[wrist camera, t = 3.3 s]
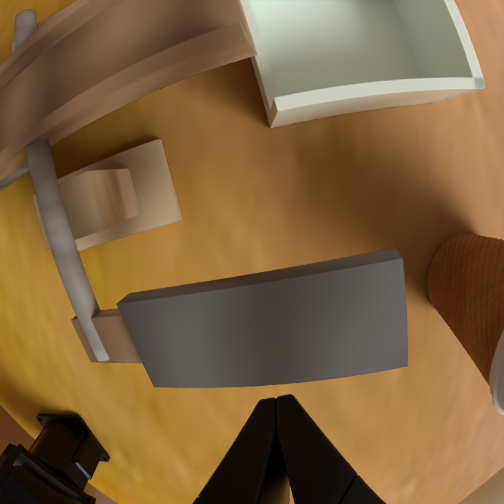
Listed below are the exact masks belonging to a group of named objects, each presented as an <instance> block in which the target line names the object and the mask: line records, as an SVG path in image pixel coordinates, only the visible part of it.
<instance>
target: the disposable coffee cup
mask: <svg viewBox="0 0 504 504" xmlns="http://www.w3.org/2000/svg"><path fill="white" fill-rule="evenodd" d="M426 289H427V294H428V297H429V300H430V302H431V304H432V305H433V306H434V308H435V309H436V310H437V311H438V313H439V314H440V315H441V317H442V318H443V319H444V321H445V322H446V323H447V325H448V326H449V327H450V329H451V330H452V332H453V333H454V334H455V336H456V337H457V339H458V340H459V341H460V343H461V344H462V346H463V347H464V348H465V350H466V351H467V353H468V354H469V356H470V357H471V359H472V360H473V361H474V363H475V364H476V366H477V367H478V369H479V370H480V372H481V374H482V376H483V377H484V378H485V380H486V381H487V383H488V384H489V386H490V392H491V395H492V400H493V404H494V406H495V408H496V410H497V412H498V413H500V414H501V415H503V416H504V241H503V239H497V238H492V237H486V236H480V235H474V234H470V233H462V234H458V235H455V236H453V237H451V238H450V239H448V240H447V241H446V242H445V243H444V244H443V245H442V246H441V247H440V248H439V249H438V251H437V252H436V254H435V255H434V257H433V259H432V261H431V263H430V266H429V269H428V274H427V281H426Z"/></svg>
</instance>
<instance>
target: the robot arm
mask: <svg viewBox="0 0 504 504" xmlns="http://www.w3.org/2000/svg"><path fill="white" fill-rule="evenodd" d="M36 418H37V420H38V421H39V423H40V424H41V426H42V427H43V430H42V431H41V432H40V434H39V435H38V437H37V438H36V440H35V441H34V443H33V445H32V446H31V448H30V449H29V451H27V450H26V449H25V448H24V446H22V445H21V444H20V443H19V445H18V446H15V445H12V444H10V443H9V445H8V446H7V448H6V449H5V450H4V452H3V453H2V455H1V456H0V504H95V501H96V498H94V497H93V496H89V495H88V494H86V493H85V492H83V491H84V489H85V486H86V484H87V482H88V480H89V479H91V478H92V476H93V474H94V472H95V470H96V467H97V465H98V463H99V461H104V462H108V461H109V460H110V456H109V455H108V454H107V452H106V451H105V450H104V449H103V447H102V446H101V445H100V443H99V442H98V441H97V439H96V438H95V436H94V435H93V434H92V432H91V431H90V429H89V428H88V426H87V425H86V424H85V422H84V421H83V419H82V418H81V417H80V416H78V415H53V414H38V415H37V416H36ZM13 464H14V465H15V467H14V466H13ZM290 487H291V491H292V495H293V499H294V503H295V504H386V503H385V502H384V501H383V500H382V499H381V498H380V497H379V496H378V495H377V494H376V493H375V492H374V491H373V490H372V489H371V488H370V487H369V486H368V485H367V484H366V483H365V481H364V480H363V479H362V478H361V477H360V476H359V475H357V473H356V471H355V470H354V469H353V468H352V467H351V465H350V464H349V463H348V462H347V461H346V460H345V458H344V457H343V456H342V455H341V454H340V452H339V451H338V450H337V449H336V448H335V446H334V445H333V444H332V443H331V442H330V440H329V439H328V438H327V437H326V436H325V434H324V433H323V432H322V431H321V429H320V428H319V427H318V426H317V424H316V423H315V422H314V421H313V420H312V418H311V417H310V416H309V415H308V413H307V412H306V411H305V410H304V408H303V407H302V406H301V404H300V403H299V402H298V401H297V399H296V398H295V397H294V396H293V395H292V394H288V395H283V396H279V397H277V399H276V398H267V399H262V400H260V401H259V402H258V403H257V405H256V407H255V408H254V410H253V412H252V413H251V415H250V417H249V418H248V420H247V422H246V423H245V425H244V427H243V428H242V430H241V431H240V433H239V435H238V436H237V438H236V439H235V441H234V443H233V444H232V446H231V447H230V449H229V450H228V452H227V454H226V455H225V457H224V458H223V460H222V461H221V463H220V464H219V466H218V467H217V469H216V470H215V472H214V473H213V475H212V476H211V478H210V479H209V481H208V482H207V484H206V485H205V487H204V488H203V489H202V491H201V492H200V494H199V497H200V498H199V497H197V498H196V499H195V501H194V502H193V504H289V498H290Z"/></svg>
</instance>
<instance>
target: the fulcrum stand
mask: <svg viewBox="0 0 504 504" xmlns="http://www.w3.org/2000/svg"><path fill="white" fill-rule="evenodd" d="M62 10H63V9H62ZM62 10H60V11H59V12H61V11H62ZM59 12H57V13H55V14H53V15H52V16H50V17H48V18H47V19H45V20H44V21H42V22H41V23H39V24H37V25H36V29H37V30H38V29H39V28H41V27H42V26H43V25H44V24H45V23H47V22H48V21H49V20H50V19H52V18H53V17H54V16H55V15H57V14H58V13H59ZM14 51H15V40H14V41H13V42H12V53H13V52H14ZM57 180H58V184H59V188H60V192H61V196H62V199H63V203H64V207H65V210H66V214H67V217H68V221H69V224H70V227H71V231H72V234H73V237H74V240H75V243H76V246H77V249H78V251H81V250H84V249H87V248H90V247H94V246H97V245H100V244H103V243H106V242H110V241H113V240H116V239H119V238H123V237H126V236H129V235H133V234H136V233H140V232H143V231H146V230H150V229H153V228H157V227H160V226H164V225H167V224H171V223H174V222H178V221H181V220H182V219H183V217H182V214H181V210H180V207H179V203H178V200H177V196H176V192H175V189H174V185H173V182H172V178H171V174H170V170H169V167H168V163H167V159H166V155H165V151H164V148H163V144H162V140H159V139H157V140H154V141H151V142H148V143H145V144H142V145H140V146H137V147H134V148H131V149H129V150H126V151H123V152H121V153H118V154H116V155H113V156H111V157H108V158H105V159H103V160H101V161H98V162H96V163H93V164H91V165H89V166H86V167H84V168H81V169H79V170H77V171H75V172H72V173H70V174H68V175H66V176H63V177H61V178H59V179H57ZM32 198H33V202H34V205H35V209H36V213H37V216H38V220H39V223H40V227H41V230H42V233H43V237H44V240H45V243H46V246H47V249H51V247H50V244H49V241H48V238H47V235H46V232H45V228H44V225H43V222H42V218H41V215H40V211H39V207H38V203H37V200H36V196H35V195H34V196H32Z"/></svg>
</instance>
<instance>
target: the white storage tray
mask: <svg viewBox="0 0 504 504" xmlns="http://www.w3.org/2000/svg"><path fill="white" fill-rule="evenodd" d="M240 1H241V4H242V7H243V10H244V14H245V17H246V20H247V23H248V26H249V29H250V32H251V35H252V39H253V42H254V45H255V48H256V52H257V55H256V56H252V57H250V58H251V61H252V65H253V68H254V72H255V75H256V78H257V82H258V85H259V89H260V93H261V96H262V100H263V103H264V107H265V111H266V114H267V118H268V122H269V125H270V128H274V127H279V126H283V125H288V124H293V123H298V122H303V121H308V120H313V119H318V118H324V117H329V116H335V115H341V114H347V113H353V112H360V111H367V110H374V109H381V108H389V107H398V106H407V105H417V104H428V103H435V102H438V101H442V100H445V99H449V98H453V97H456V96H460V95H464V94H468V93H472V92H475V91H480V90H484V89H486V86H485V82H484V79H483V75H482V72H481V69H480V66H479V62H478V59H477V56H476V53H475V51H474V48H473V45H472V42H471V40H470V37H469V34H468V32H467V29H466V27H465V24H464V22H463V19H462V17H461V15H460V12H459V10H458V8H457V6H456V3H455V1H454V0H240Z"/></svg>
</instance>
